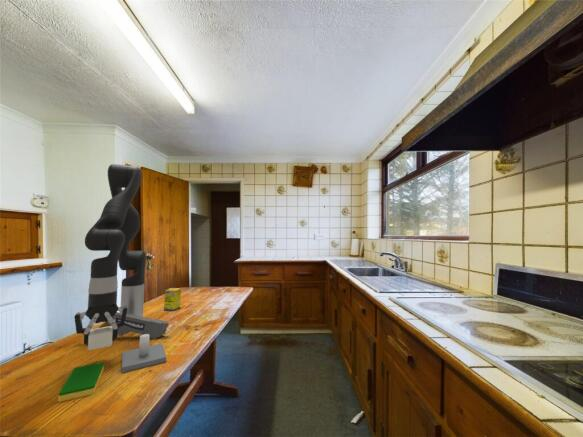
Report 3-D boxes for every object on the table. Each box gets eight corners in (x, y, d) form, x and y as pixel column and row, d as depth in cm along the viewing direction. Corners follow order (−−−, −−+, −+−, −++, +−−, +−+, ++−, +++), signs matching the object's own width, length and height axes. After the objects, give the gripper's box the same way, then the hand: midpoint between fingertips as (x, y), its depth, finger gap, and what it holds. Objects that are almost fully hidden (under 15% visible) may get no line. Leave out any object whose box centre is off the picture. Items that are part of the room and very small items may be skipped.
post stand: (122, 356, 84) (123, 333, 85) (161, 347, 91) (162, 326, 91) (121, 372, 74) (122, 346, 75) (166, 361, 81) (167, 338, 81)
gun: (151, 361, 98) (167, 324, 100) (91, 338, 97) (108, 302, 98) (155, 357, 101) (170, 321, 103) (96, 335, 100) (113, 300, 101)
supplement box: (163, 310, 135) (164, 290, 135) (170, 307, 140) (171, 287, 141) (173, 311, 134) (174, 290, 134) (180, 308, 140) (181, 288, 140)
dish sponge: (57, 404, 61) (58, 393, 61) (74, 375, 73) (74, 367, 74) (93, 395, 64) (94, 385, 65) (104, 369, 77) (104, 361, 77)
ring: (90, 342, 82) (91, 329, 82) (112, 338, 85) (113, 325, 85) (87, 350, 77) (88, 335, 77) (111, 345, 80) (112, 331, 80)
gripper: (129, 285, 89) (127, 333, 88) (76, 290, 81) (73, 343, 80) (129, 289, 82) (127, 341, 81) (72, 295, 74) (69, 353, 74)
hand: (100, 342), depth 81 cm, fingers closed on ring, 6 cm apart
